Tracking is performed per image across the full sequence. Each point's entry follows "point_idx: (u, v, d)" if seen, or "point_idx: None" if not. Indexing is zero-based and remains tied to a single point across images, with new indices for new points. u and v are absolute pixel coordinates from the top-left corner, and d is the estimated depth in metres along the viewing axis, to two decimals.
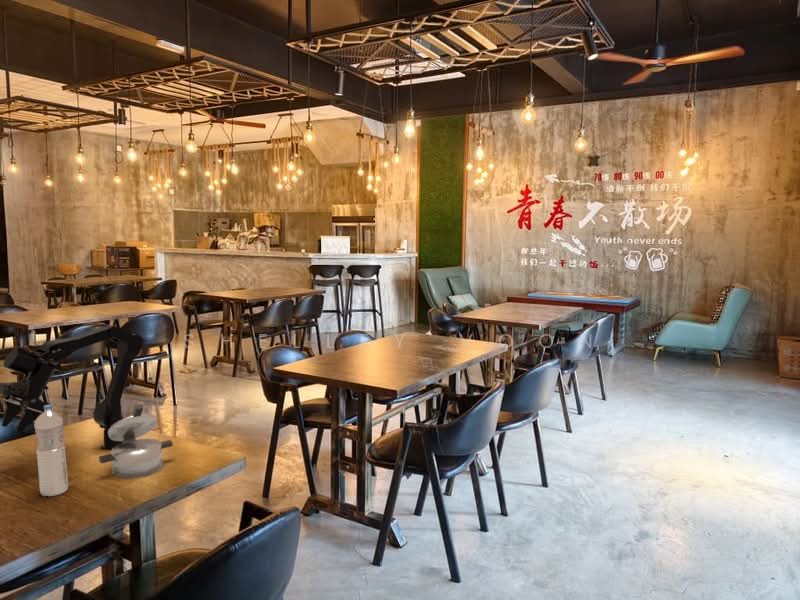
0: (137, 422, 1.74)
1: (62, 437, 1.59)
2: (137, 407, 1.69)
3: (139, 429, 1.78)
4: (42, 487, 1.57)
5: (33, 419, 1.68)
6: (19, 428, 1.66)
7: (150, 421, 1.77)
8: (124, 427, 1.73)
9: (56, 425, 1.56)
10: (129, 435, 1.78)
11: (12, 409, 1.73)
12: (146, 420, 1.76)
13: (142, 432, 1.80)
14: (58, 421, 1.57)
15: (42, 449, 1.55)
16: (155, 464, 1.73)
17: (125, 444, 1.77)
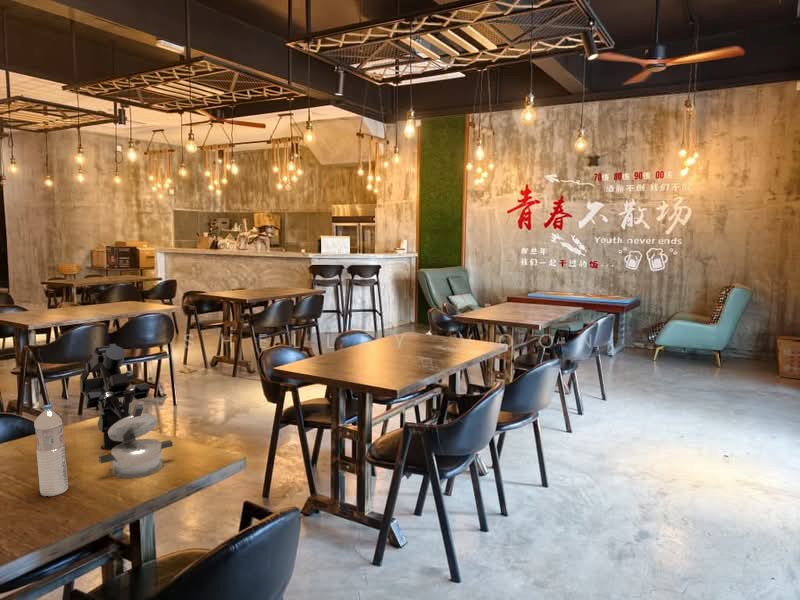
0: (137, 422, 1.74)
1: (62, 437, 1.59)
2: (137, 407, 1.69)
3: (139, 429, 1.78)
4: (42, 487, 1.57)
5: None
6: (128, 413, 1.84)
7: (150, 421, 1.77)
8: (124, 427, 1.73)
9: (56, 425, 1.56)
10: (129, 435, 1.78)
11: None
12: (146, 420, 1.76)
13: (142, 432, 1.80)
14: (58, 421, 1.57)
15: (42, 449, 1.55)
16: (155, 464, 1.73)
17: (125, 444, 1.77)
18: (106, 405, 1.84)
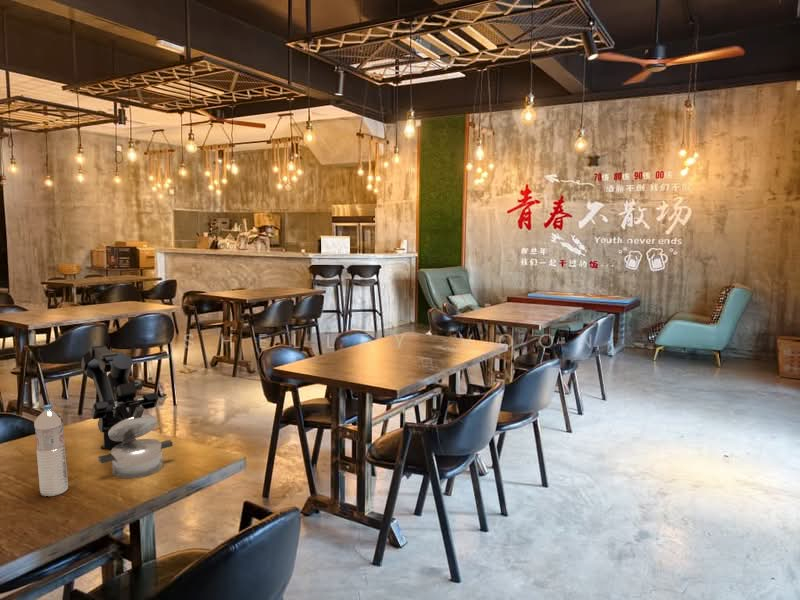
0: (137, 423, 1.74)
1: (62, 437, 1.59)
2: (138, 409, 1.69)
3: (139, 429, 1.78)
4: (42, 487, 1.57)
5: None
6: None
7: (150, 422, 1.77)
8: (124, 428, 1.73)
9: (56, 425, 1.56)
10: (129, 435, 1.78)
11: None
12: (146, 421, 1.76)
13: (142, 432, 1.80)
14: (58, 421, 1.57)
15: (42, 449, 1.55)
16: (155, 464, 1.73)
17: (125, 444, 1.77)
18: (115, 415, 1.79)
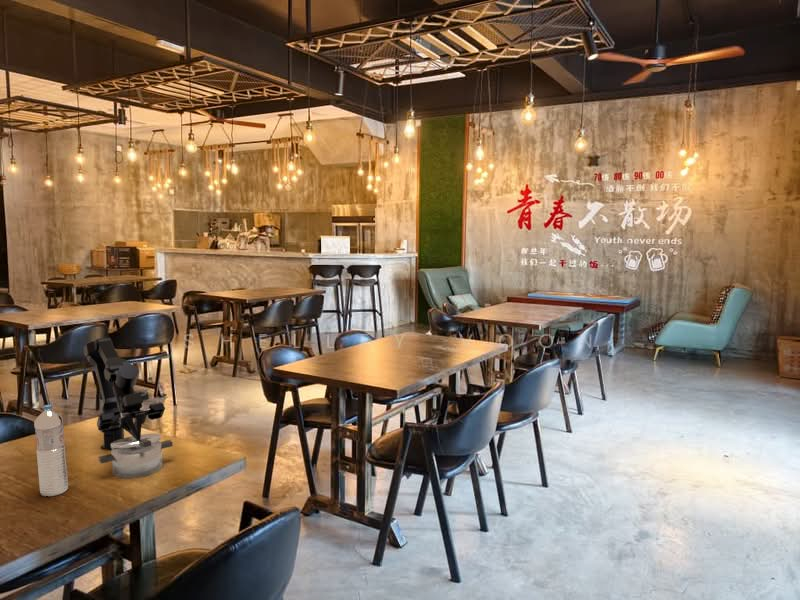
0: None
1: (62, 437, 1.59)
2: (145, 445, 1.66)
3: None
4: (42, 487, 1.57)
5: None
6: (140, 436, 1.73)
7: None
8: None
9: (56, 425, 1.56)
10: None
11: None
12: None
13: None
14: (58, 421, 1.57)
15: (42, 449, 1.55)
16: (155, 464, 1.73)
17: None
18: (121, 426, 1.75)
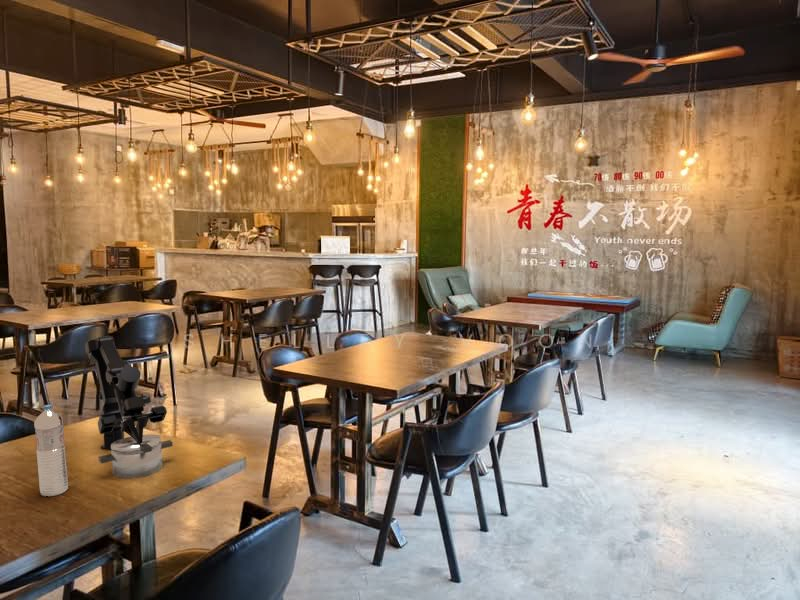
0: None
1: (62, 437, 1.59)
2: (146, 450, 1.66)
3: None
4: (42, 487, 1.57)
5: None
6: None
7: None
8: None
9: (56, 425, 1.56)
10: None
11: None
12: None
13: None
14: (58, 421, 1.57)
15: (42, 449, 1.55)
16: (155, 464, 1.73)
17: None
18: (123, 430, 1.73)
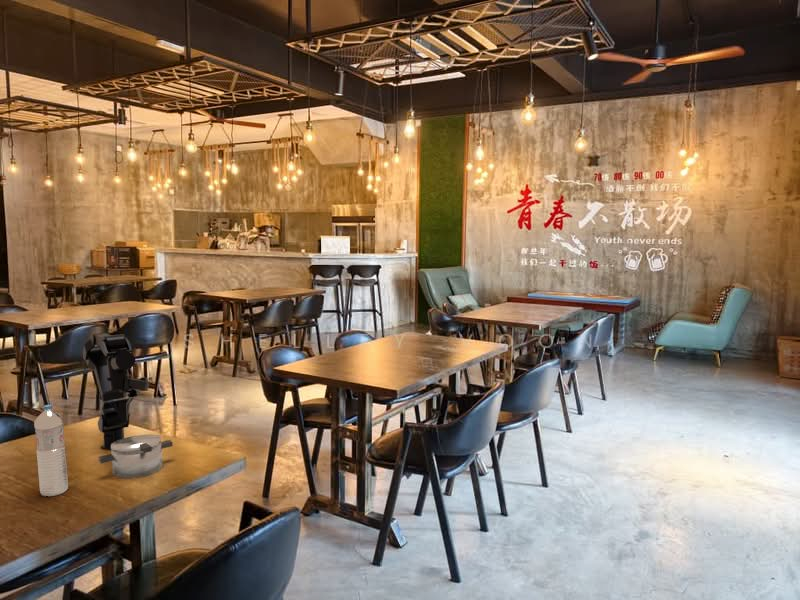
0: None
1: (62, 437, 1.59)
2: (146, 450, 1.66)
3: None
4: (42, 487, 1.57)
5: None
6: None
7: None
8: None
9: (56, 425, 1.56)
10: None
11: None
12: None
13: None
14: (58, 421, 1.57)
15: (42, 449, 1.55)
16: (155, 464, 1.73)
17: None
18: (113, 402, 1.80)
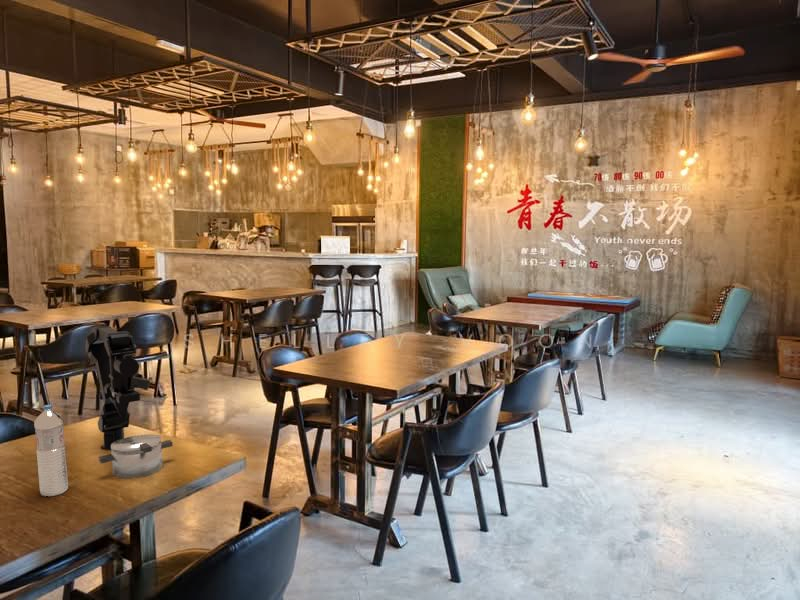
0: None
1: (62, 437, 1.59)
2: (146, 450, 1.66)
3: None
4: (42, 487, 1.57)
5: None
6: None
7: None
8: None
9: (56, 425, 1.56)
10: None
11: None
12: None
13: None
14: (58, 421, 1.57)
15: (42, 449, 1.55)
16: (155, 464, 1.73)
17: None
18: None
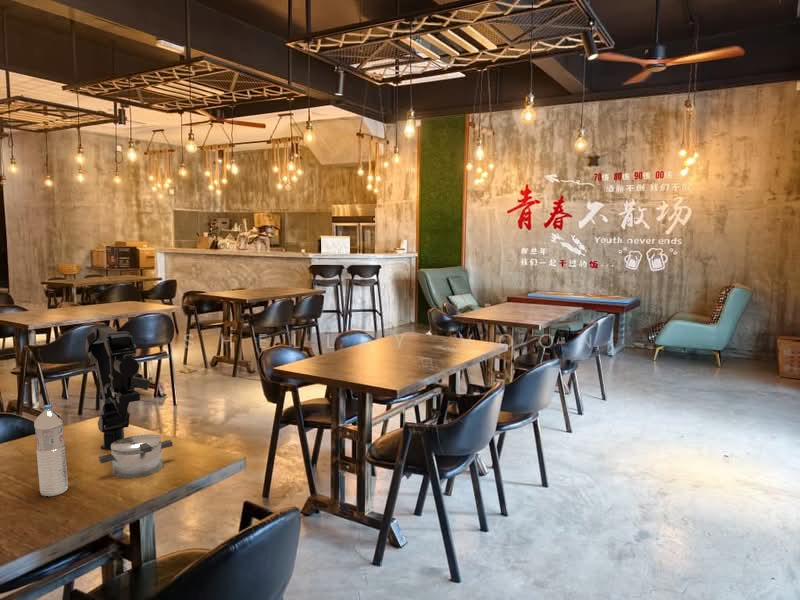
0: None
1: (62, 437, 1.59)
2: (146, 450, 1.66)
3: None
4: (42, 487, 1.57)
5: None
6: None
7: None
8: None
9: (56, 425, 1.56)
10: None
11: None
12: None
13: None
14: (58, 421, 1.57)
15: (42, 449, 1.55)
16: (155, 464, 1.73)
17: None
18: None
